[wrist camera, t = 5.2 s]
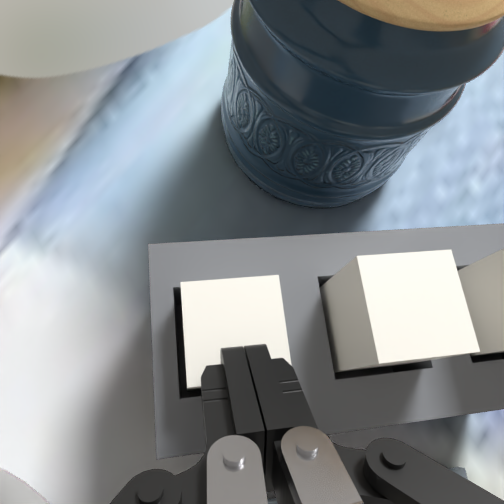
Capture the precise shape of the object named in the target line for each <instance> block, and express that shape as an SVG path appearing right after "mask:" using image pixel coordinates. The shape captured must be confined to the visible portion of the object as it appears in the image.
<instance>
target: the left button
mask: <svg viewBox="0 0 504 504" xmlns="http://www.w3.org/2000/svg"><path fill="white" fill-rule="evenodd" d="M180 283H181V300H182V316H183V331H184V347H185V363H186V378H187V391H192V390H200V389H201V376H202V373H203V371H204V369H205V367H206V366H207V365H217V364H221V358H220V350H221V348H227V347H238V346H243V347H244V346H247V345H258V344H266V345H267V348H268V351H269V353H270V356H271V359H275V358H284V359H285V360H286V361H287V362H288V363H289V364H290V365H291V358H290V351H289V344H288V337H287V330H286V323H285V316H284V309H283V301H282V294H281V287H280V280H279V275H269V276H256V277H242V278H229V279H215V280H202V281H188V282H180ZM291 366H292V365H291Z"/></svg>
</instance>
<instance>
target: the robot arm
mask: <svg viewBox="0 0 504 504" xmlns="http://www.w3.org/2000/svg"><path fill="white" fill-rule="evenodd" d="M220 358H221V364H217V365H207V366H206V367H205V369H204V371H203V373H202V376H201V395H202V416H203V427H204V438H205V449H206V451H205V454H204V455H203V457H202V458H201V460H200V461H199V462H198V463H197V464H196V465H195V466H193V467H192V468H190V469H189V470H187V471H185V472H183V473H180V474H178V475H176V476H174V475H173V474H172V473H170V472H168V471H166V470H162V469H152V470H147V471H144V472H142V473H140V474H138V475H136V476H135V477H134V478H132V479H131V480H130V481H129V482H128V483H127V485H126V486H125V487H124V488H123V489H122V490H121V491H120V492H119V494H118V495H117V496H116V497H115V498H114V499H113V500H112V501H111V503H110V504H268V501H267V494H266V492H269V491H275V495H276V499H277V504H504V501H503V500H502V499H500V498H498V497H496V496H495V495H493V494H491V493H490V492H488V491H486V490H484V489H483V488H481V487H479V486H477V485H476V484H474V483H472V482H471V481H469V480H467V479H465V478H464V477H462V476H460V475H458V474H457V473H455V472H453V471H452V470H450V469H448V468H446V467H445V466H443V465H441V464H439V463H438V462H436V461H434V460H433V459H431V458H429V457H427V456H426V455H424V454H422V453H420V452H419V451H417V450H415V449H414V448H412V447H410V446H408V445H407V444H405V443H403V442H401V441H398V440H396V439H391V438H380V439H377V440H374V441H373V442H371V443H370V444H369V446H368V447H367V450H360V449H353V448H347V447H343V446H340V445H337V444H335V443H333V442H331V440H330V438H329V437H328V436H327V435H326V434H325V433H323V432H322V431H320V430H319V429H318V427H317V425H316V422H315V420H314V417H313V415H312V412H311V410H310V407H309V405H308V402H307V400H306V398H305V395H304V393H303V391H302V388H301V385H300V383H299V381H298V378H297V375H296V373H295V370H294V368H293V367H292V366H291V365H290V364H289V363H288V362H287V361H286V360H285V359H284V358H275V359H271V356H270V353H269V351H268V348H267V345H266V344H258V345H247V346H244V347H243V346H238V347H227V348H221V350H220Z"/></svg>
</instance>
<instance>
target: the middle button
mask: <svg viewBox="0 0 504 504" xmlns="http://www.w3.org/2000/svg"><path fill="white" fill-rule="evenodd" d="M320 294H321V300H322V306H323V312H324V317H325V323H326V329H327V335H328V341H329V346H330V352H331V358H332V364H333V370H334V373H336V372H344V371H352V370H361V369H369V368H378V367H386V366H395V365H403V364H410V363H416V362H422V361H428V360H434V359H440V358H446V357H452V356H458V355H464V354H470V353H476V352H480V349H479V345H478V342H477V338H476V335H475V331H474V328H473V324H472V321H471V317H470V314H469V310H468V307H467V303H466V300H465V296H464V293H463V289H462V285H461V282H460V278H459V275H458V271H457V268H456V264H455V261H454V257H453V254H452V250H451V249H450V250H436V251H421V252H406V253H392V254H377V255H362V256H356V257H355V258H354V259H353V260H351V261H350V262H349V263H348V264H347V265H346V266H344V267H343V268H342V269H341V270H340V271H339V272H337V273H336V274H335V275H334V276H333V277H332V278H330V279H329V280H328V281H327V282H326V283H325V284H323V285H322V286H321V287H320Z"/></svg>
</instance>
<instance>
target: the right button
mask: <svg viewBox="0 0 504 504" xmlns="http://www.w3.org/2000/svg"><path fill="white" fill-rule="evenodd" d="M458 275H459V278H460V282H461V285H462V289H463V293H464V296H465V300H466V303H467V307H468V310H469V314H470V317H471V321H472V324H473V328H474V331H475V335H476V338H477V342H478V345H479V349H480V352H476V353H470V356H479V355H487V354H496V353H504V249H502V250H499V251H497V252H495V253H493V254H491V255H489V256H487V257H485V258H483V259H481V260H479V261H477V262H475V263H472V264H470V265H468V266H466V267H464V268H462V269H460V270H458Z"/></svg>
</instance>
